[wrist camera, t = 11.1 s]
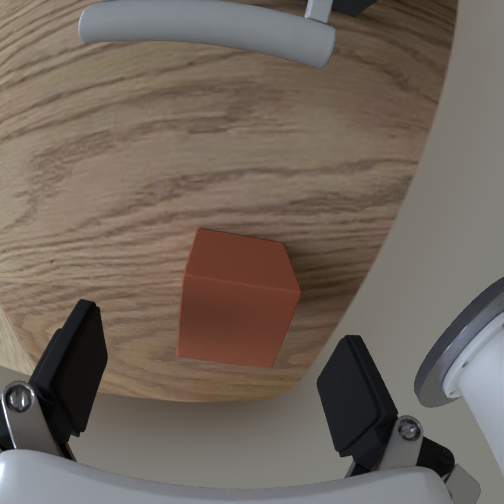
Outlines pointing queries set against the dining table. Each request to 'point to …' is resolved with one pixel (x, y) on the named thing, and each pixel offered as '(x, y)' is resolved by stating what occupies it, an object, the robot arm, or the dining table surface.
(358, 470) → the robot arm
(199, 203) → the dining table surface
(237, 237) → the block
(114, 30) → the dark grey drawer
